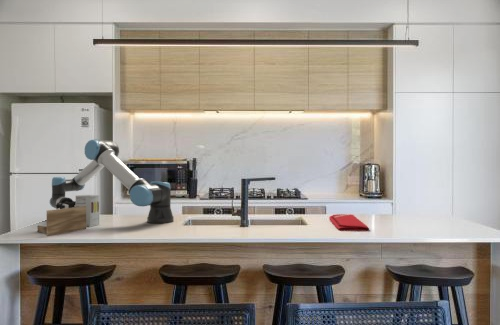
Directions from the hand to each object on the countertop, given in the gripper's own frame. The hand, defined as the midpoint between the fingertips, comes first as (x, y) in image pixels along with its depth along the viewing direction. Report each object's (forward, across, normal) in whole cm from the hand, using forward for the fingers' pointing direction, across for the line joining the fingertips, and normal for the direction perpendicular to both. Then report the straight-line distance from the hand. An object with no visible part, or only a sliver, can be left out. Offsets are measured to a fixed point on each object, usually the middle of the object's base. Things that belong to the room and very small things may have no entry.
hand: (80, 206), depth 242 cm
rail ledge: (+17, +19, -10) cm, 27 cm away
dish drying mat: (+110, -102, -10) cm, 151 cm away
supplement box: (+10, 0, -10) cm, 14 cm away
